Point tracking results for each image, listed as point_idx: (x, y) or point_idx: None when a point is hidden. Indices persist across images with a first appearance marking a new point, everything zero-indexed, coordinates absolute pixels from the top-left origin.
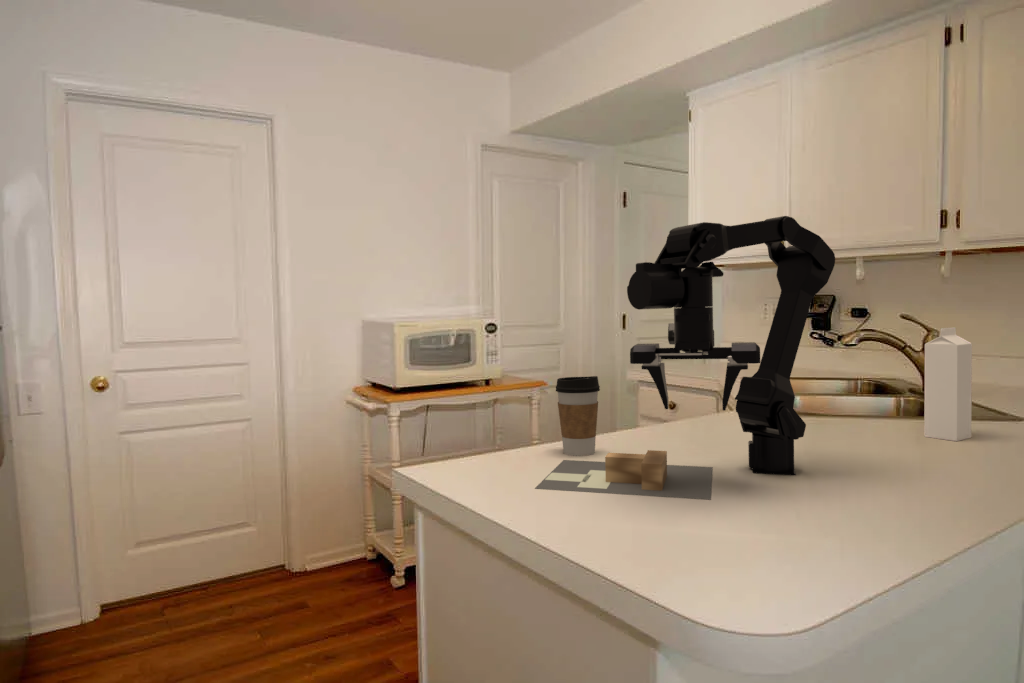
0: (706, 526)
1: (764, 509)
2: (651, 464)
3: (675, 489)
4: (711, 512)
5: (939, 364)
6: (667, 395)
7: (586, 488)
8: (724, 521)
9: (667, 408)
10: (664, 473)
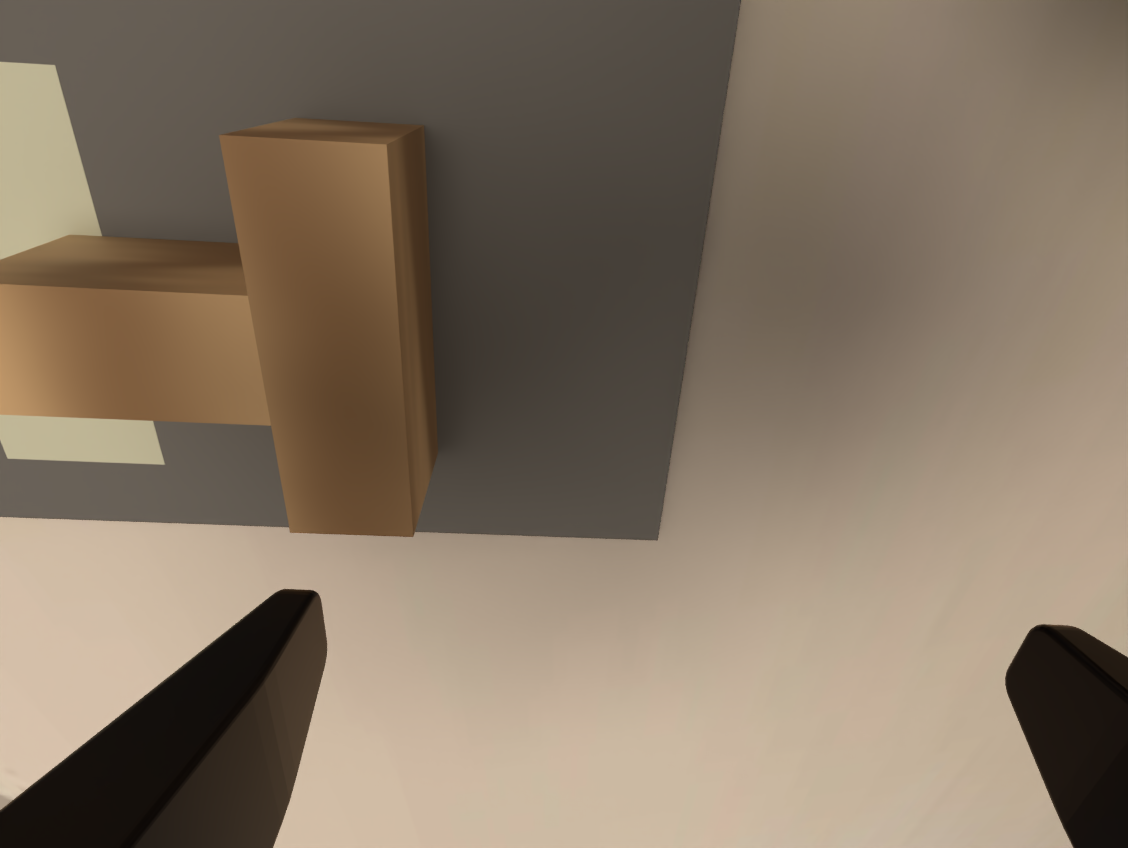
0: (616, 732)
1: (851, 573)
2: (352, 530)
3: (500, 425)
4: (645, 628)
5: None
6: (238, 785)
7: (67, 474)
8: (677, 692)
9: (321, 663)
10: (422, 336)
